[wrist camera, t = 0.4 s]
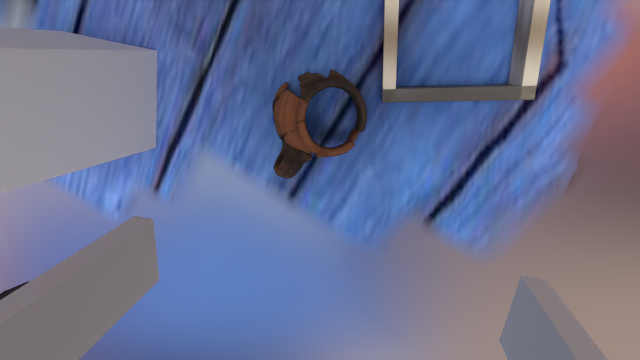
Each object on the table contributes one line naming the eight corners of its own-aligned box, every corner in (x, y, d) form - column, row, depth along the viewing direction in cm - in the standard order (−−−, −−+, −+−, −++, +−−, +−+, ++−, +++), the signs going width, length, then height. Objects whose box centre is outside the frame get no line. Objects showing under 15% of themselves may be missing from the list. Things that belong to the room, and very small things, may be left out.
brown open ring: (285, 55, 37) (311, 49, 29) (354, 94, 41) (392, 97, 33) (241, 155, 38) (256, 174, 30) (313, 184, 42) (340, 206, 35)
